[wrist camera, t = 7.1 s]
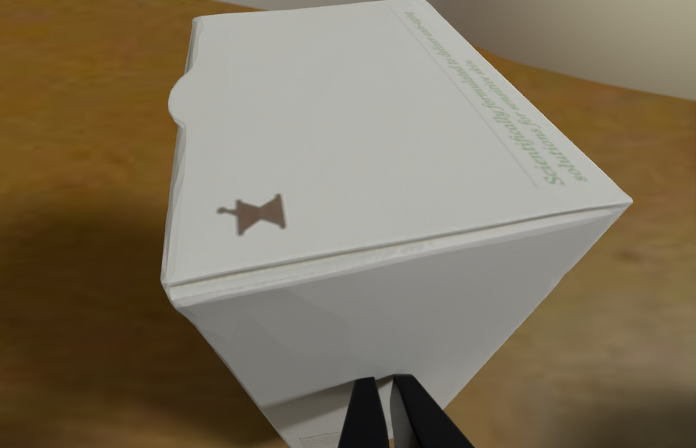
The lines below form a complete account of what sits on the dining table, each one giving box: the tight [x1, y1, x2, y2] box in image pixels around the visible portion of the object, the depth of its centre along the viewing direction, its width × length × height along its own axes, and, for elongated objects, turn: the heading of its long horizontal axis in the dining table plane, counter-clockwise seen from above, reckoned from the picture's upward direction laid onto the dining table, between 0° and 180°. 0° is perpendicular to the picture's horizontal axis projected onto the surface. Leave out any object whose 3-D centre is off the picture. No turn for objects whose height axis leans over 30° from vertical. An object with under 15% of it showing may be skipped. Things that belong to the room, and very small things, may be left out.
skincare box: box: [160, 0, 633, 448], centre depth 12 cm, size 8×7×16 cm
